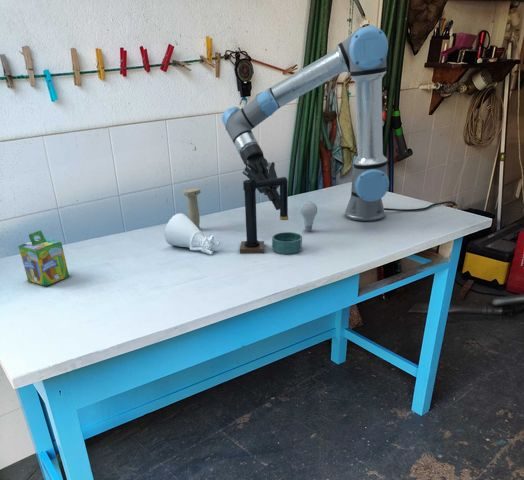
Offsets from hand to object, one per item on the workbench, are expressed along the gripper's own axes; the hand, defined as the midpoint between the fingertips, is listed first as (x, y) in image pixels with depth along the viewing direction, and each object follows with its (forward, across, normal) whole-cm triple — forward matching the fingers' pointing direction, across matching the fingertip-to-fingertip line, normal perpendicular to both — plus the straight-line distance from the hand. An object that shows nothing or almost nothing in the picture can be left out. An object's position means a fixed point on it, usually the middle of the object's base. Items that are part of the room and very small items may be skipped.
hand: (279, 207), depth 179 cm
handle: (-14, +16, -32) cm, 38 cm away
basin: (+14, +3, -3) cm, 15 cm away
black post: (+8, +12, -9) cm, 17 cm away
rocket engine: (-1, +28, -19) cm, 34 cm away
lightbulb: (+8, -15, -10) cm, 20 cm away
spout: (+3, +6, -2) cm, 7 cm away
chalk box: (-7, +75, -24) cm, 79 cm away
